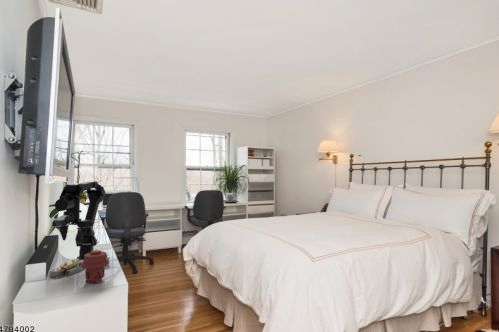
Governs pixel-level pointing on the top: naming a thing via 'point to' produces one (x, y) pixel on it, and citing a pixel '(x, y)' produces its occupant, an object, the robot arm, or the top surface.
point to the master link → (69, 265)
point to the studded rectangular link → (61, 272)
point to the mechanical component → (95, 265)
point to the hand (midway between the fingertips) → (72, 240)
